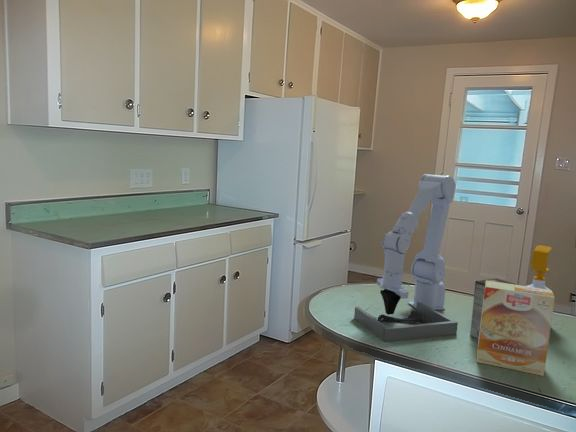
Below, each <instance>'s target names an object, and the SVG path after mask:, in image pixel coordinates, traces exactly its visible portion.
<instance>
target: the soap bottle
mask: <svg viewBox="0 0 576 432" xmlns="http://www.w3.org/2000/svg"><path fill="white" fill-rule="evenodd" d="M552 249H553V248H552V246H549V245H547V246H546V245H540V244H538V245H536V246H535V248H534V249H533V252H532V257H531V258H532V259H531V264H530V269H531V270H534V272H535V273H536V276H535V275H534V276H533V278H532V283H531V284H528V285H527V284H526V286H528V287H534V288H541V289H548V290H551V289H550V288H549V287H547V286H546V277H544V274H546V273H548V272H549V271H550V268H547V266H548V258H549V255H550V253H551V251H552ZM553 295H554V293H553ZM554 296H555V295H554Z"/></svg>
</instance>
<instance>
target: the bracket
mask: <svg viewBox="0 0 576 432" xmlns="http://www.w3.org/2000/svg"><path fill="white" fill-rule="evenodd" d="M377 320H378V321H380V322H381V323H402V324H407V325H417V324H427V323H430V321H429V320H427V319H426V318H424V317H422V316H421V315H419V314H418V313H417V312H416V310H414V309H413V310H412V311H410V314H409V316H407V317H403V318H400V317H394V316H393V317H392V316H389V315H386V314H380V315H379V316H378V318H377Z"/></svg>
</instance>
